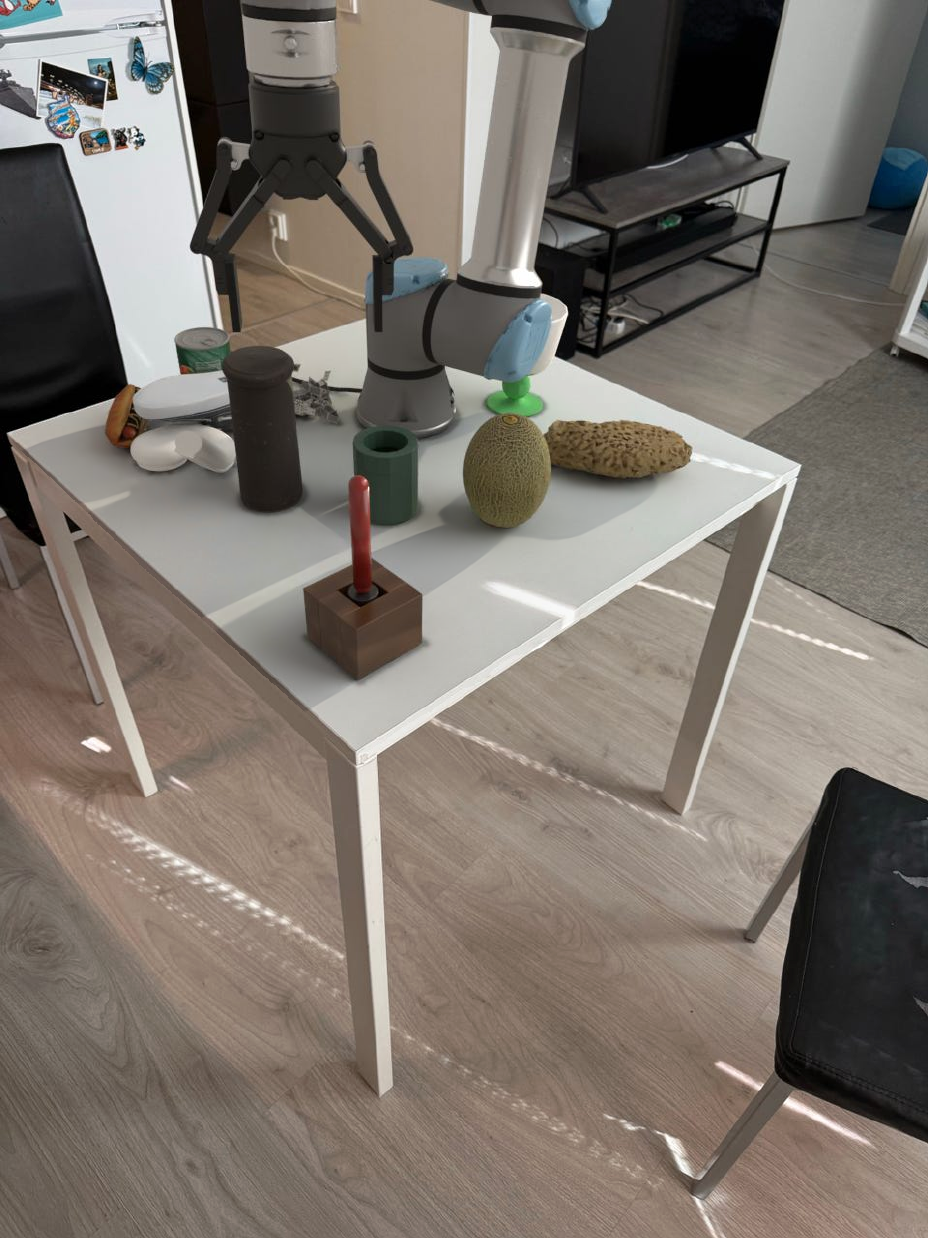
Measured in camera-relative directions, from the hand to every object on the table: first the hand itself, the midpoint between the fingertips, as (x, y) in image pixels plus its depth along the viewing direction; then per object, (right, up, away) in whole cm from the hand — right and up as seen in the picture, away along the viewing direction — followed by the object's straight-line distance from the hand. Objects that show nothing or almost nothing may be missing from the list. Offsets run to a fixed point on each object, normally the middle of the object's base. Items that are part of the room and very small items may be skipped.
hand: (308, 327), depth 89 cm
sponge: (+37, -7, +43) cm, 57 cm away
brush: (+4, -31, +11) cm, 33 cm away
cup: (+23, +6, +57) cm, 61 cm away
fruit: (+20, -16, +31) cm, 40 cm away
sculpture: (-24, -7, +39) cm, 46 cm away
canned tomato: (-24, +4, +52) cm, 57 cm away
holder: (+4, -31, +11) cm, 33 cm away
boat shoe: (-20, +6, +41) cm, 46 cm away
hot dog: (-36, -1, +43) cm, 56 cm away
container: (-11, -12, +33) cm, 37 cm away
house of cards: (-9, +8, +50) cm, 51 cm away
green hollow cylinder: (+5, -14, +32) cm, 35 cm away
